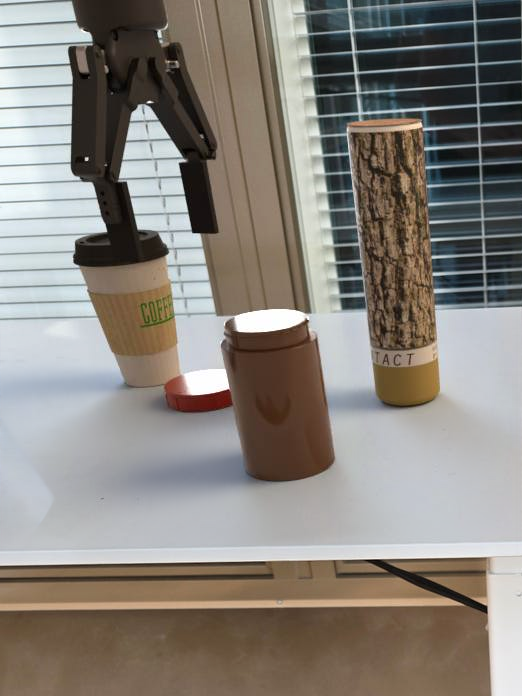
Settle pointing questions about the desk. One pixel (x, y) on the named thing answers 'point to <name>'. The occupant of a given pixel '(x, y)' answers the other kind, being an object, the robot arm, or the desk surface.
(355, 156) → the paper tube
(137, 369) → the coffee cup
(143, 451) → the desk surface
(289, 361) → the jar
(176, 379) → the lid
